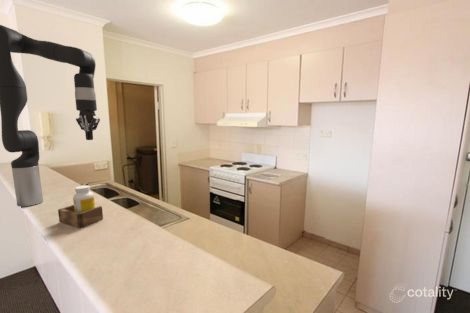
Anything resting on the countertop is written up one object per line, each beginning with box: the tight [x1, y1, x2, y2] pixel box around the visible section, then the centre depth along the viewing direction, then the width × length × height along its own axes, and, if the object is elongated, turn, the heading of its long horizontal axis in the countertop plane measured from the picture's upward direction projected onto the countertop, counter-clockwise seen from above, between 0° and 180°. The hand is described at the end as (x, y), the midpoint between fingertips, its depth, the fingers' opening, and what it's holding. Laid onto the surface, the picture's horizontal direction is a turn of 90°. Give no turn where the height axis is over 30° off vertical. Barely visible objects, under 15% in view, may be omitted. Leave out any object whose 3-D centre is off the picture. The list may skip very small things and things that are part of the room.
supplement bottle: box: [72, 185, 96, 213], centre depth 92 cm, size 7×7×13 cm
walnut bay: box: [57, 204, 104, 229], centre depth 91 cm, size 12×9×5 cm
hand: (89, 139), depth 106 cm, fingers closed
